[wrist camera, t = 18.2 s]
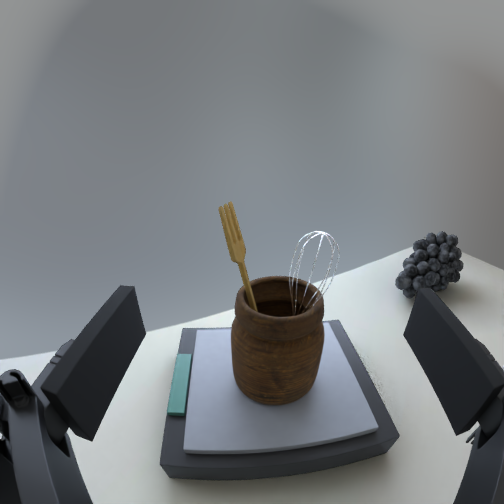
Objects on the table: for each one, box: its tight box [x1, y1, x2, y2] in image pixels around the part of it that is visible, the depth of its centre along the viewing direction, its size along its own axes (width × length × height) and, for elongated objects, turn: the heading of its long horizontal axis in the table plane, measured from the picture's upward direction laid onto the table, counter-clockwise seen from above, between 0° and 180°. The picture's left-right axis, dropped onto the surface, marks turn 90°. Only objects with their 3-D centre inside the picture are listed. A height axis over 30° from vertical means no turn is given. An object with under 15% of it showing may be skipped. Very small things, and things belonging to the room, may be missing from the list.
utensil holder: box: [219, 202, 339, 405], centre depth 16 cm, size 6×6×12 cm
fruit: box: [395, 231, 463, 298], centre depth 33 cm, size 9×8×15 cm
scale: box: [160, 320, 400, 480], centre depth 19 cm, size 15×14×3 cm
